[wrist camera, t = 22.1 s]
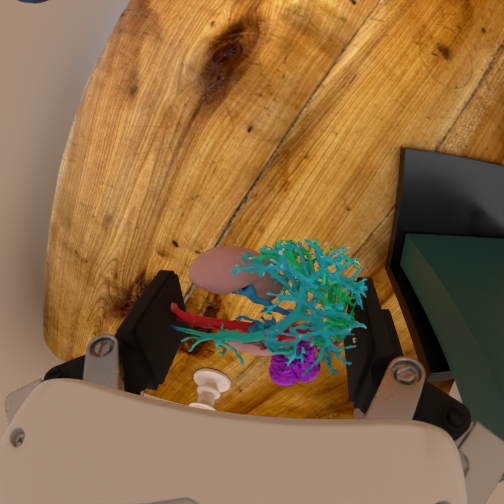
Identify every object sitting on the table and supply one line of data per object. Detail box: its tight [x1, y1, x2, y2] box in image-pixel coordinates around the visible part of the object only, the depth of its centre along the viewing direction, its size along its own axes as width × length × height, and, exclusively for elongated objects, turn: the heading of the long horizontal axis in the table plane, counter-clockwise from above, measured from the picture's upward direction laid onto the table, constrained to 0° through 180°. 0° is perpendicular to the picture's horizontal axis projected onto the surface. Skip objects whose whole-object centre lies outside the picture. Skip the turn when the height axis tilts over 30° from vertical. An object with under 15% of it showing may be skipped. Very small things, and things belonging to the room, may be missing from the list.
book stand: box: [385, 147, 504, 383], centre depth 15 cm, size 11×16×13 cm
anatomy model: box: [170, 237, 367, 386], centre depth 10 cm, size 5×8×7 cm
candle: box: [189, 368, 231, 411], centre depth 32 cm, size 5×5×10 cm
